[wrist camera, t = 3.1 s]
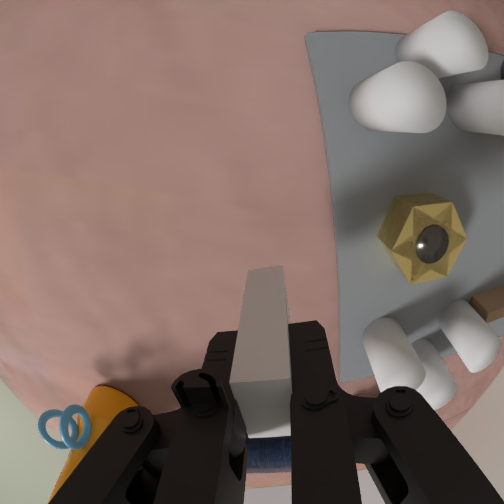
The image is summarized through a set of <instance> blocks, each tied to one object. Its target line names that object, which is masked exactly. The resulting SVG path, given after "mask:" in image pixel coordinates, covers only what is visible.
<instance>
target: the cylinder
mask: <svg viewBox="0 0 504 504" xmlns="http://www.w3.org/2000/svg"><path fill="white" fill-rule="evenodd" d="M133 406H138V405H137V403H136V402H135V401H134V400H132V399H131V398H130V397H129V396H127V395H126V394H124V393H122V392H121V391H118V390H117V389H114V388H111V387H107V386H97V387H95V388H93V389H92V391H91V392H90V394H89V396H88V398H87V399H86V401H85V403H84V405H83V407H82V406H80V405H70V406H69V407H67V408H66V409H65V410H64V412H63V411H60V410H48V411H46V412H44V413H43V414H42V415H41V416H40V418H39V422H38V429H39V432H40V434H41V436H42V438H43V439H44V440H45V441H46V442H47V443H48V444H49V445H51V446H52V447H55V448H58V449H68V448H71V451H70V453H69V455H68V459H67V461H66V463H65V465H64V467H63V470H62V472H61V474H60V476H59V478H58V480H57V483H56V485H55V488H54V490H53V492H52V494H51V496H50V499H49V501H48V503H49V502H50V500H51V499H52V498H53V497H54V495H55V494H56V493H57V491H58V490H59V489H60V487H61V486H62V485H63V483H64V482H65V481H66V480H67V478H68V477H69V476H70V474H71V473H72V472H73V470H74V469H75V468H76V467H77V465H78V464H79V463H80V461H81V460H82V459H83V457H84V456H85V455H86V454H87V452H88V451H89V450H90V448H91V447H92V446H93V444H94V443H95V442H96V441H97V439H98V438H99V437H100V435H101V434H102V433H103V432H104V430H105V429H106V428H107V426H108V425H109V424H110V422H111V421H112V420H113V419H114V417H115V416H116V415H117V414H118V413H119V412H120V411H122V410H124V409H126V408H128V407H133ZM75 413H78V417H77V424H76V422H75V420H74V419H73V418H72V415H74V414H75ZM52 417H59V418H60V424H59V430H60V435H61V438H62V440H63V442H61V441H56V440H54V439H52V438H51V437H50V436H49V435H48V433H47V431H46V428H45V425H46V422H47V420H48V419H50V418H52ZM68 424H69V425H70V427H71V430H72V434H71V437H70V436H69V433H68Z"/></svg>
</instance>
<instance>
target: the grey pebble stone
mask: <svg viewBox="0 0 504 504" xmlns="http://www.w3.org/2000/svg"><path fill="white" fill-rule="evenodd" d="M501 80H504V61H503V62H502V65H501Z"/></svg>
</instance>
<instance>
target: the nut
mask: <svg viewBox="0 0 504 504" xmlns="http://www.w3.org/2000/svg"><path fill="white" fill-rule="evenodd" d="M377 237H378V239H379V241H380V242H381V244H382V245H383V247H384V249H385V250H386V252H387V254H388V255H389V257H390V259H391V260H392V262H393V264H394V265H395V267H396V268H397V269H398V271H399V272H400V273H401V274H402V275H403V277H404V278H405V279H406V280H407V281H408V283H409V284H410V285H412V284H417V283H422V282H426V281H431V280H436V279H440V278H445V277H447V276H448V274H449V272H450V270H451V268H452V267H453V265H454V263H455V261H456V259H457V257H458V255H459V253H460V251H461V250H462V248H463V246H464V244H465V242H466V239H467V237H466V235H465V232H464V229H463V227H462V224H461V222H460V219H459V217H458V214H457V212H456V209H455V207H454V205H453V203H452V202H451V201H449V200H447V199H445V198H442V197H440V196H438V195H436V194H434V193H421V194H411V195H401V196H395V197H394V200H393V202H392V204H391V206H390V208H389V211H388V213H387V215H386V217H385V219H384V221H383V223H382V225H381V227H380V229H379V231H378V234H377Z"/></svg>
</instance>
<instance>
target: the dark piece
mask: <svg viewBox="0 0 504 504" xmlns="http://www.w3.org/2000/svg"><path fill="white" fill-rule="evenodd" d="M245 444H246V446H247V451H248V458H247V470H246V473H276V472H292V471H291V436H280V437H265V438H249V437H248V434H246V438H245Z"/></svg>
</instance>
